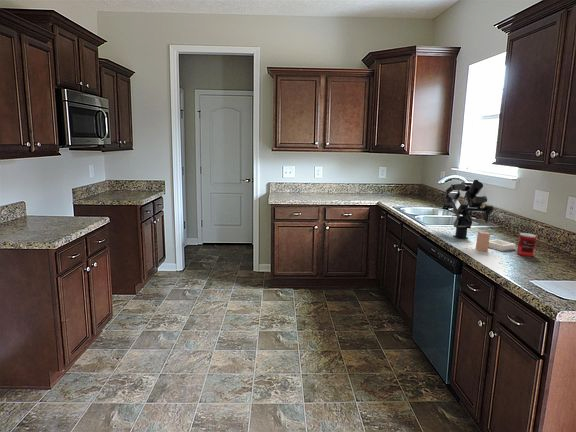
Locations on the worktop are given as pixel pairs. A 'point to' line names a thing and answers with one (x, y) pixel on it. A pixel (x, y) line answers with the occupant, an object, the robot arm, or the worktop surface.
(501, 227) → the worktop surface
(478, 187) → the robot arm
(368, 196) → the worktop surface
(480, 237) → the terracotta block
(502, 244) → the tray
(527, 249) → the canned food
